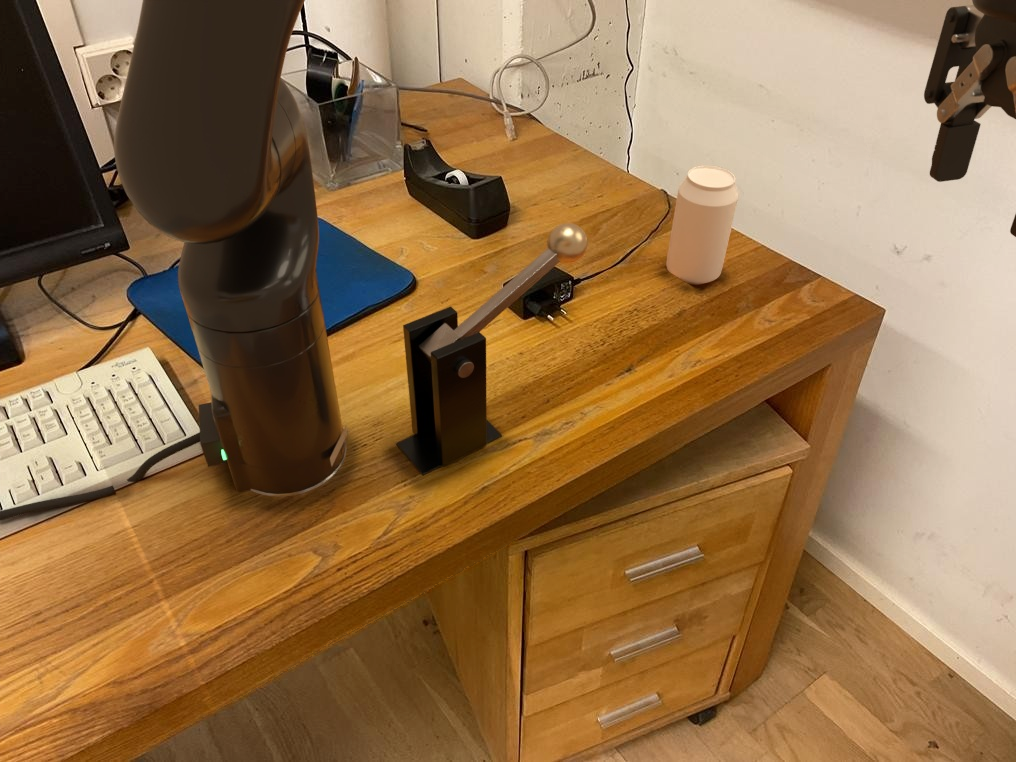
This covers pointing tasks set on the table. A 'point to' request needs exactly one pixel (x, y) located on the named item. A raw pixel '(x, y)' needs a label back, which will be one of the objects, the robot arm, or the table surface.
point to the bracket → (445, 395)
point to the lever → (514, 286)
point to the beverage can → (702, 224)
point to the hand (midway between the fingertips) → (985, 205)
